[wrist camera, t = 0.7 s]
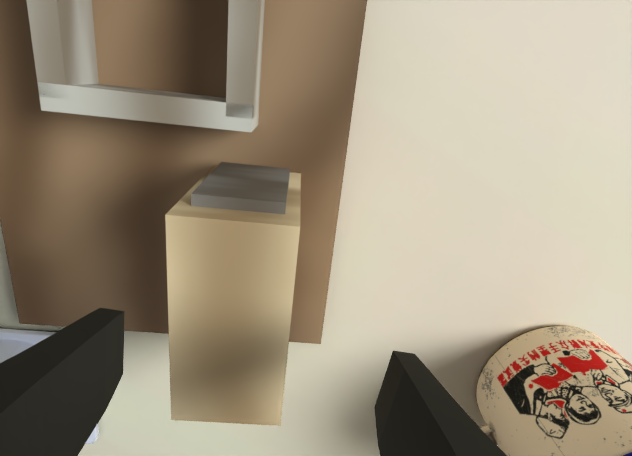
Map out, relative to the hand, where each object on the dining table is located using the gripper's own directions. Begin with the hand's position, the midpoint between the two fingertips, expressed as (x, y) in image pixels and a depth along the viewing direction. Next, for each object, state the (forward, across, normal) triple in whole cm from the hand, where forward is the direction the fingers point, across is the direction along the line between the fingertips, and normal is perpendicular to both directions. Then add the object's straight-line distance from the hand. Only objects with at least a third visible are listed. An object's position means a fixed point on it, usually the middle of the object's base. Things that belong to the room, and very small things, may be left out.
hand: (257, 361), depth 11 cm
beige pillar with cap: (+10, +1, +1) cm, 10 cm away
